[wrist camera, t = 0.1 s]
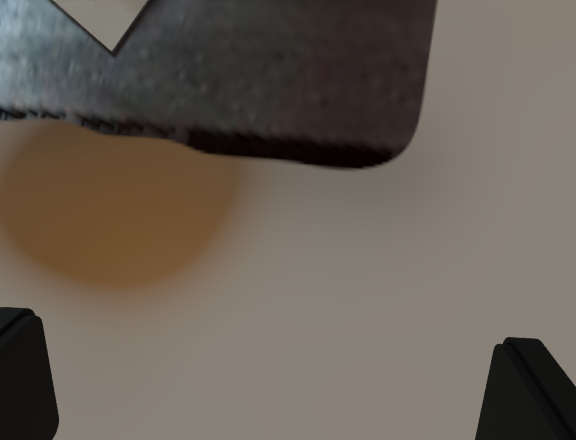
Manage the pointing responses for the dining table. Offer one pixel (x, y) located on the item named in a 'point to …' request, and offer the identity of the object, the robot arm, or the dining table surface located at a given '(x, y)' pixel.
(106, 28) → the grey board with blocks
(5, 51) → the dining table surface
